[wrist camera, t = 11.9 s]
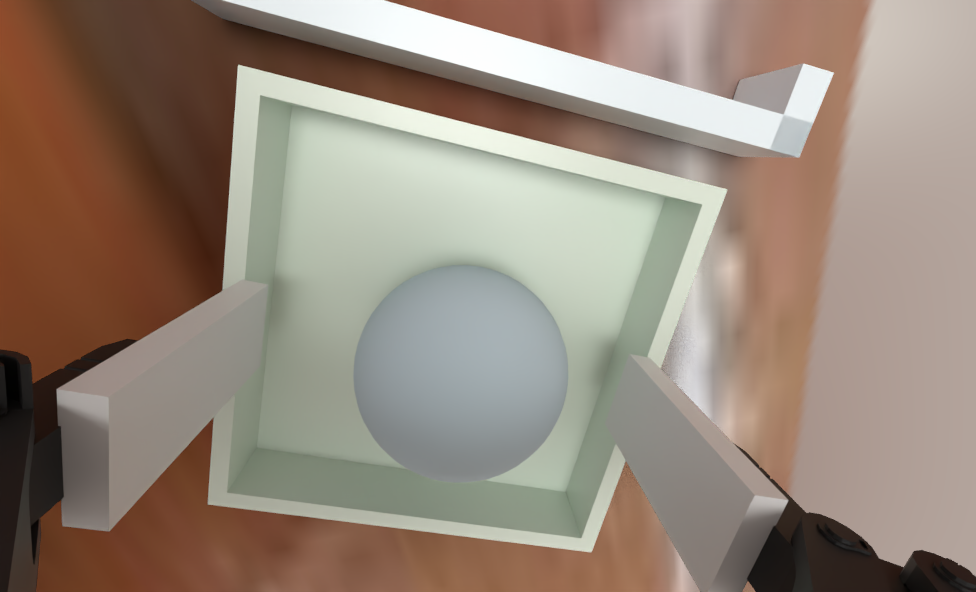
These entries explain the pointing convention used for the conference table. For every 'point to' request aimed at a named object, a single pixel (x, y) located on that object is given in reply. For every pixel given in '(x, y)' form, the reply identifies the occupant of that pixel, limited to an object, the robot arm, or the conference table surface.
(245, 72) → the tray
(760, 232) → the conference table surface
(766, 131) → the white bar handle
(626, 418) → the robot arm
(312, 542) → the conference table surface
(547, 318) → the ball
